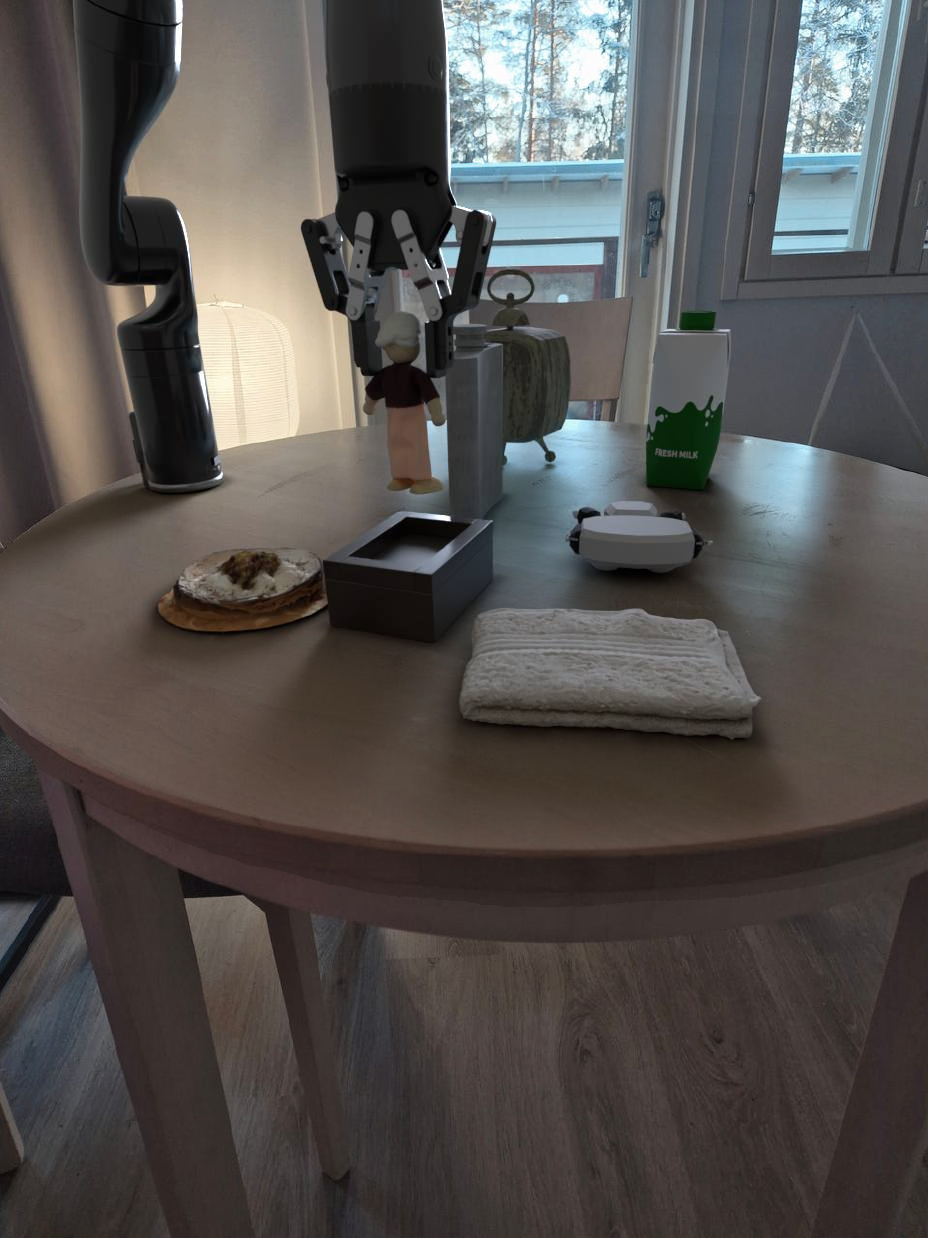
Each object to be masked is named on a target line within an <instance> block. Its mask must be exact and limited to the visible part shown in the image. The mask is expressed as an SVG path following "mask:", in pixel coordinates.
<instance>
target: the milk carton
mask: <svg viewBox="0 0 928 1238" xmlns="http://www.w3.org/2000/svg"><path fill="white" fill-rule="evenodd" d="M716 317H717V311H716V310H683V311H681V312H680V319H679V327H676V328H666V329H664V330H661V331H659V333H658V334H657V336H656V344H655V347H654V351H653V356H652V362H651V364H653V365H652V372H651V379H650V380H651V381H650V388H649V389H650V391H649V402H648V413H647V423H646V434H645V435H646V436H645V485H646V486H649V487H650V486H651V487H661V488H662V487H663V488H672V489H673V488H674V489H675V488H676V489H686V490H698V491H704V490H705V486H706V484H707V481H708V478H709V476H710V472H711V469H712V466H713V463H714V460H715V457H716V454H717V450H718V447H719V445H720V444H719V443H720V439H721V438H720V437H721V431H722V425H723V418H724V410H725V403H726V396H727V395H726V394H727V389H728V388H727V387H728V380H729V370H730V364H731V363H730V362H731V353H732V331H731V329H721V328H715V325H716Z"/></svg>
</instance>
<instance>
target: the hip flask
mask: <svg viewBox="0 0 928 1238" xmlns="http://www.w3.org/2000/svg"><path fill="white" fill-rule="evenodd" d="M487 330H488V325H486V324H480V323H463V324H455V325H453V336H455V338H454V345H453V346H454V347H455V349H454V362H453V365H452V368H448V369H447V374H446V376H444V377H445V378H444V381H445V405H446V406H445V407H446V409H445V411H446V412H445V413H446V440H447V442H446V444H447V470H448V471H447V473H448V505H449V507H448V508H449V509H448V510H449V516H453V517H463V518H472V519H482V520H484V518H485V516H486V515H487V513H488V512H489V511H490V510H491V509H492V508H493V506H495V505H496V504H498V502H500V501H502V500H503V497H504V495H503V494H504V493H503V491H504V490H503V488H504V485H503V482H504V481H503V480H504V479H503V477H504V476H503V475H504V473H503V471H504V466H503V344H498V343H485V339H483V334H487Z"/></svg>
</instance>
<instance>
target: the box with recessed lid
mask: <svg viewBox="0 0 928 1238" xmlns="http://www.w3.org/2000/svg"><path fill="white" fill-rule="evenodd" d="M322 566H323V568H324V577H325V584H326V593H327V602H328V604H327V610H328V619H329V625H330V626H333V627H338V628H344V629H351V630H356V631H362V632H368V633H375V634H379V635H385V636H391V637H398V638H404V639H409V640H415V641H422V642H428V643H433V644H434V643H436V642H437V641H438V639H440V638H441V636H442V635H443V634H444V633H445V632H446V630H448V629H449V628H450V627H451V625H452V624H454V622H455V621H456V620H457V619H458V618H459V617H460V616H461V615H462V614H463V613H464V611H466V609H467V608H468V607H469V606H470V605H471V604H472V603H473V601H474V600H475V599H476V598H477V597H478V596H480V594H481V593H482V592H483V591H484V590H485V589H486V587H488V585H490V583H491V581H493V579H494V521H493V520H492V519H483V520H482V519H472V518H463V517H453V516H450V515H443V514H442V515H441V514H432V513H422V512H414V511H403V510H399V511H397V512H395V513H394V514H392V515H390V516H389V517H387V518H386V519H385V520H382V521H381V522H379V523H378V524H377V525H375V526H373V527H371V529H369V530H367V531H365V532H364V533H363V534H361V535H360V536H358V537H357V538H355V539H353V540H352V541H350V542H349V543H347V544H345V545H343V546H342V547H340V548H339V549H338V550H336V551H334V552H333V553H332V554H330V555H329V556H327V557H325V558H324V559H322Z"/></svg>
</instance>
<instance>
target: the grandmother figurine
mask: <svg viewBox="0 0 928 1238" xmlns="http://www.w3.org/2000/svg"><path fill="white" fill-rule="evenodd" d="M421 328H422V324H421V320H420V319H419V318H418V315H416V314H415V313H413V312H410V311H404V310H397V311H395V312H393V313H391V314H390V315H389V316H388V317H387V318H386V319H385V321H384V322H383V323H382V324H381V325H380V330H379V332H378V337H377V339H376V340H375V344H376V346H378V347H381V348H382V350H383V351H385V353H386V355H387V358H388V359H389V360H390V361H391V362H392V364H388V365H386V366H384V367H383V368H382V369H381V370H380V371H379V372H377V374H376V375H375V376H372V378H371V379H370V381H368V383H367V384H366V386H365V387H364V391H365V397H364V403H363V405H362V412H363V413H364V414H365V415H368V416H373V415H374V414H375V413H376V411H377V405H378V403H379V401H380V400H382V399H384V404H385V409H386V414H387V415H386V419H387V420H386V436H387V437H386V438H387V442H386V443H387V444H386V445H387V452H388V459H389V468H390V470H389V471H390V476H391V478H392V479H391V481H389V482H388V484H387V486H386V489H387V490H388V491H392V492H403V491H406V490H408V489H409V493H410V494H412V495H419V496H420V495H421V496H422V495H428V494H433V493H438V492H442V491H443V490H445V489H444V484H443V483H442V481H441V480H440V479H439V478H438V477H435V476H433V475H432V473H433V471H432V462H431V454H430V447H429V434H428V433H429V432H428V420H427V415H426V414H427V413H426V407H427V410H428V413H429V414H430V416H431V417H430V419H431V423H432V424H433V426H435V427H442V426H444V425H445V423H447V416H446V415H445V414H444V411H443V405H442V401H441V395H440V393H439V391H438V389H437V387H436V385H435V383H434V381H433V378H428V377H427V373H426V370H424V369H422V368H421V367H418V366H416V365H412V363H413V362H415V361H416V360H417V359H418V358H419V357H420V356H419V355H420V354H421V340H420V339H421V337H420V334H422V330H421ZM425 406H426V407H425Z"/></svg>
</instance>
